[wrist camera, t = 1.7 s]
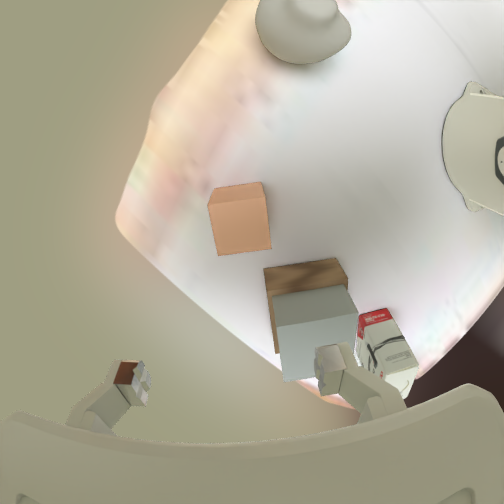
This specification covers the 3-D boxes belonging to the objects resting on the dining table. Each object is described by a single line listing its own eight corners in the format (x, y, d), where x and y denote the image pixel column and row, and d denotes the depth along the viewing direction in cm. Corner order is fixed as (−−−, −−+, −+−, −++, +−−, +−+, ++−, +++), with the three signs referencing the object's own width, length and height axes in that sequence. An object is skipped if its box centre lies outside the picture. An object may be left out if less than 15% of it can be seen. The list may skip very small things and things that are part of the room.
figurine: (240, 45, 22) (239, -1, 11) (270, 12, 20) (286, -44, 9) (301, 84, 24) (340, 63, 13) (329, 50, 22) (379, 17, 11)
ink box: (357, 314, 37) (386, 376, 27) (387, 306, 37) (421, 363, 27) (354, 352, 41) (376, 409, 31) (381, 344, 41) (407, 398, 30)
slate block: (343, 283, 29) (358, 312, 25) (340, 340, 33) (351, 369, 29) (271, 295, 30) (276, 327, 25) (279, 351, 34) (283, 382, 29)
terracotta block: (260, 181, 29) (265, 196, 23) (266, 225, 31) (271, 248, 26) (214, 188, 29) (207, 205, 24) (222, 231, 31) (218, 255, 26)
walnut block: (335, 256, 33) (348, 278, 29) (333, 317, 38) (343, 341, 33) (263, 267, 34) (266, 291, 29) (271, 328, 38) (275, 353, 34)
